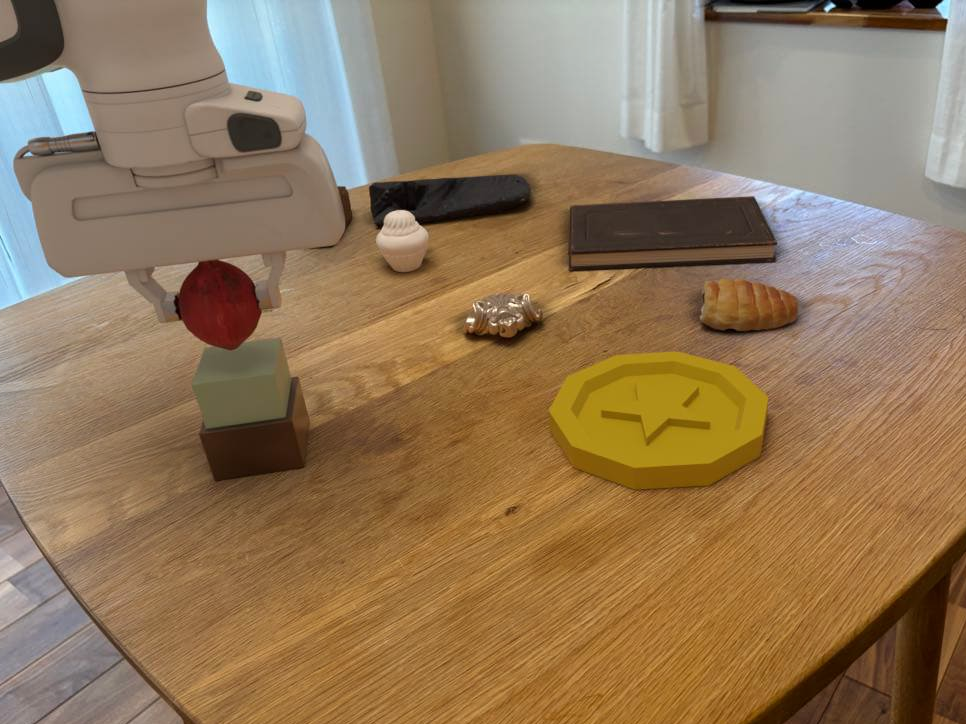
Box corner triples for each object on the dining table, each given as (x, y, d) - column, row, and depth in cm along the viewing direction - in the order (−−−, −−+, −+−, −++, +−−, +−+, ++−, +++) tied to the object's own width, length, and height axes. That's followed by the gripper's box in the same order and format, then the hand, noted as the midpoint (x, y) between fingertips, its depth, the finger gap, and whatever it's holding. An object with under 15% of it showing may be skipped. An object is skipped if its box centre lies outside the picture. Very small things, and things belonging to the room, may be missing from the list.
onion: (286, 345, 66) (261, 246, 61) (218, 375, 62) (187, 273, 58) (247, 325, 69) (220, 230, 65) (180, 352, 66) (148, 255, 62)
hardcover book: (775, 261, 95) (777, 242, 94) (568, 271, 97) (567, 251, 96) (752, 212, 109) (753, 194, 108) (571, 221, 111) (570, 203, 109)
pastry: (792, 303, 87) (796, 268, 84) (801, 335, 81) (805, 298, 79) (698, 304, 88) (699, 269, 86) (700, 335, 82) (701, 299, 80)
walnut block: (214, 481, 67) (198, 434, 65) (226, 432, 73) (212, 387, 71) (304, 467, 68) (292, 420, 66) (309, 420, 74) (298, 375, 72)
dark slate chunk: (533, 218, 112) (530, 182, 110) (365, 231, 113) (359, 196, 110) (529, 181, 125) (527, 149, 123) (379, 193, 126) (374, 161, 123)
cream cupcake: (419, 279, 98) (410, 220, 94) (371, 275, 100) (360, 218, 96) (441, 258, 103) (433, 201, 99) (395, 255, 105) (386, 199, 101)
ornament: (470, 354, 82) (466, 320, 80) (459, 323, 88) (455, 291, 86) (551, 340, 83) (549, 306, 81) (535, 311, 89) (533, 278, 87)
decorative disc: (511, 422, 72) (508, 402, 71) (666, 352, 80) (666, 332, 79) (647, 520, 60) (647, 498, 59) (812, 426, 68) (815, 405, 67)
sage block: (206, 429, 66) (191, 384, 63) (217, 390, 71) (204, 347, 68) (285, 417, 66) (273, 373, 64) (291, 379, 71) (280, 336, 69)
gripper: (-16, 154, 53) (65, 351, 60) (319, 118, 55) (358, 312, 62) (19, 129, 58) (89, 313, 66) (324, 97, 60) (359, 278, 68)
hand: (223, 312), depth 64 cm, fingers closed on onion, 6 cm apart
